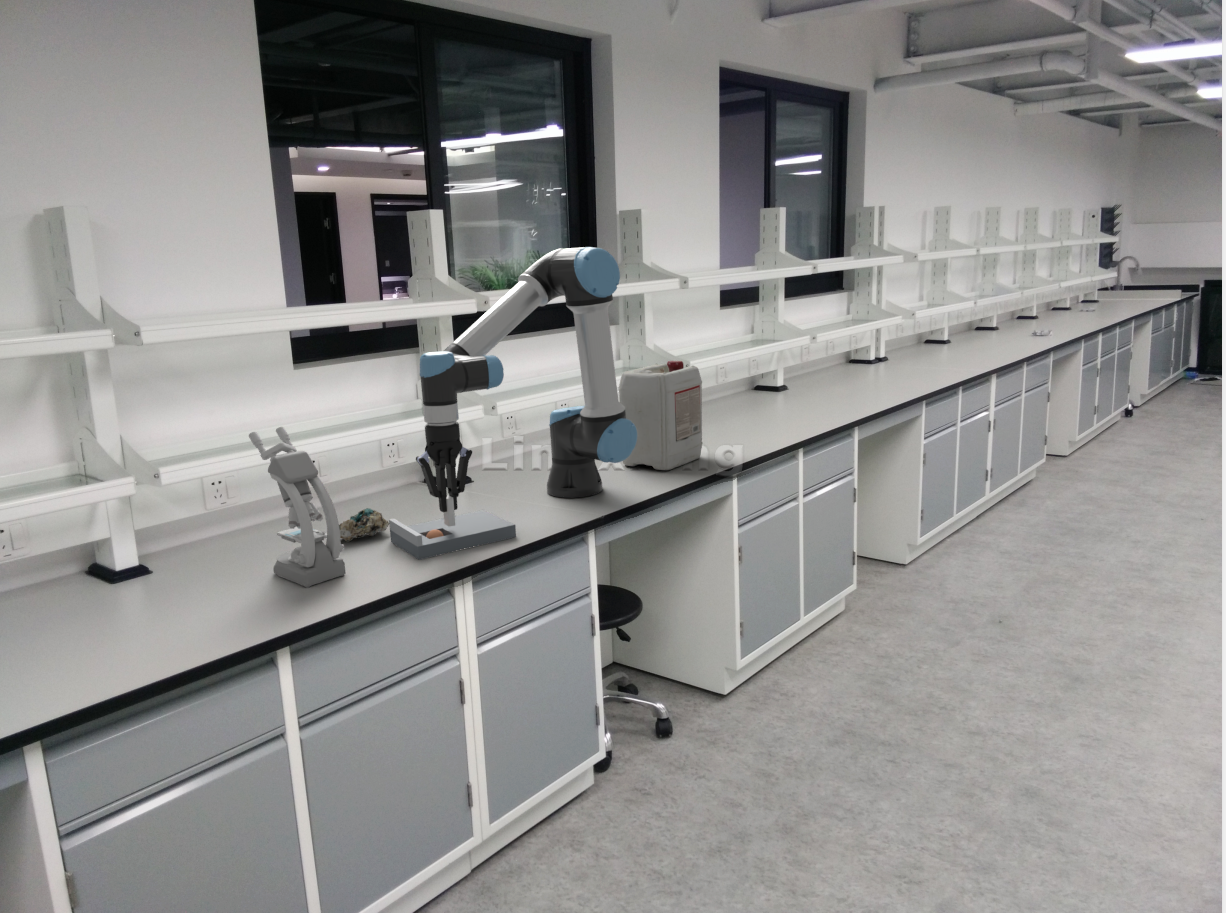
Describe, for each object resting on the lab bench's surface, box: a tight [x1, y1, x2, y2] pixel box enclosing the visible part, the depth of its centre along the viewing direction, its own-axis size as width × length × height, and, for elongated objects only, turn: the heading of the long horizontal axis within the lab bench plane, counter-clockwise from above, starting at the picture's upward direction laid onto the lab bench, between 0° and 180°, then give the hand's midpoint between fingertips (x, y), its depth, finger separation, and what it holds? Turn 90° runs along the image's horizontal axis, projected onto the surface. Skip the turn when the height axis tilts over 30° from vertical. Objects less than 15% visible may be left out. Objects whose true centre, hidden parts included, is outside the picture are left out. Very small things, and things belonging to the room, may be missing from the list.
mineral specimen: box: [339, 507, 389, 542], centre depth 210 cm, size 12×9×8 cm
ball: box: [426, 529, 444, 539], centre depth 202 cm, size 4×4×4 cm
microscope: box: [248, 426, 346, 588], centre depth 185 cm, size 11×19×30 cm, turn 49°
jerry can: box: [618, 360, 703, 471], centre depth 271 cm, size 24×19×30 cm
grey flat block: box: [388, 509, 517, 561], centre depth 207 cm, size 24×16×5 cm, turn 125°
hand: (449, 524), depth 204 cm, fingers closed
